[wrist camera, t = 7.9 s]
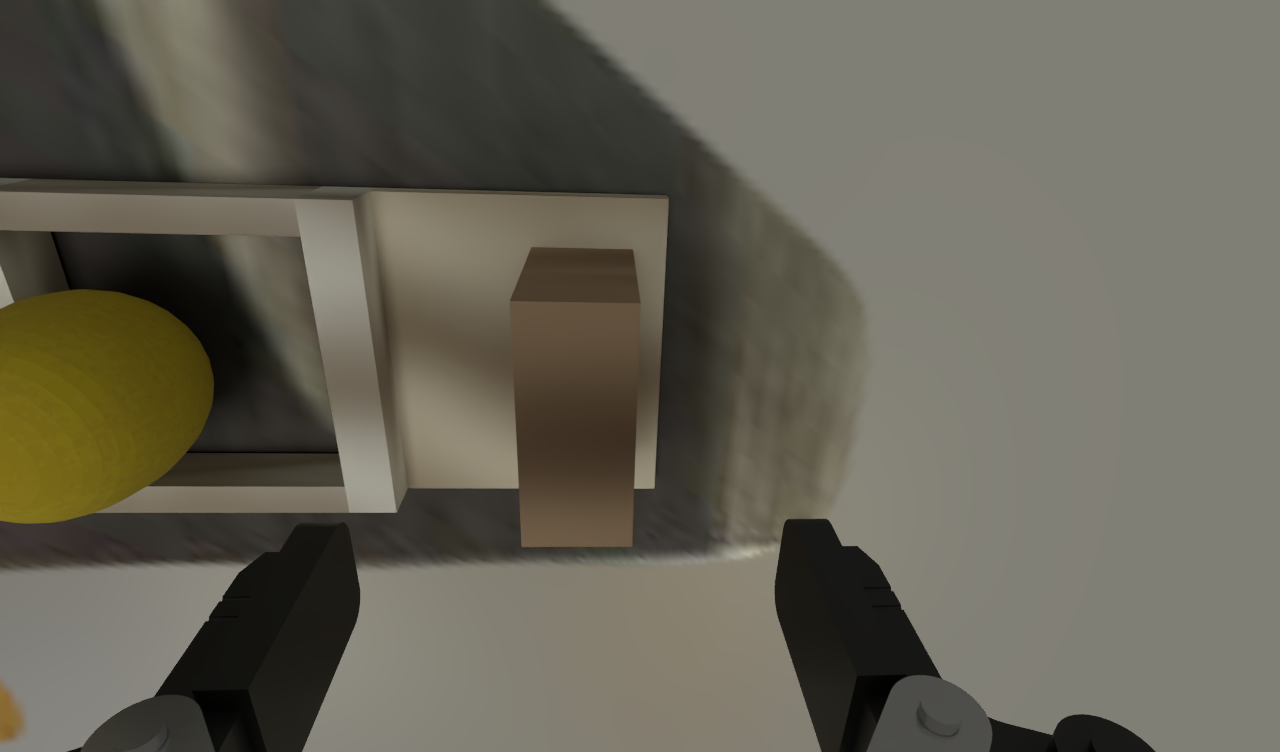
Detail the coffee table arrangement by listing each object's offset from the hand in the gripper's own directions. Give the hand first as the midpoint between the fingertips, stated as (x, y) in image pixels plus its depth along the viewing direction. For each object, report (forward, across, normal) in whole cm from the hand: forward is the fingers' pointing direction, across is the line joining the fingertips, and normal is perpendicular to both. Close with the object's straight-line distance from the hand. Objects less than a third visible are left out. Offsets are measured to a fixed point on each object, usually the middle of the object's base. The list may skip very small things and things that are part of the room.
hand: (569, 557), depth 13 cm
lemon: (+11, +13, 0) cm, 17 cm away
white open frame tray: (+11, +6, 0) cm, 12 cm away
